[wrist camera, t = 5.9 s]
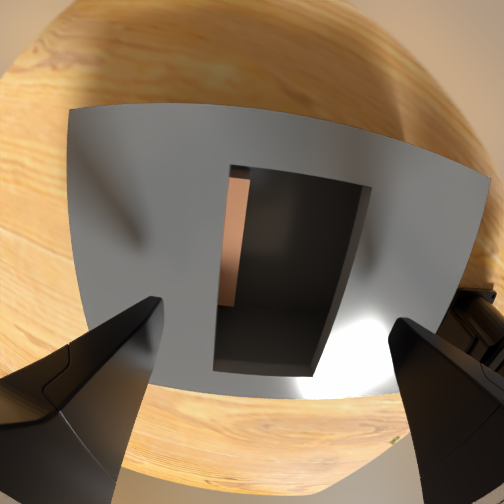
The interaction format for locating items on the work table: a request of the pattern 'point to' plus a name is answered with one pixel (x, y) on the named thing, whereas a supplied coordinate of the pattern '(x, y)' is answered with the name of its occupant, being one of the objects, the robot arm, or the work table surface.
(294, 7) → the work table surface
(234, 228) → the block
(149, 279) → the box
